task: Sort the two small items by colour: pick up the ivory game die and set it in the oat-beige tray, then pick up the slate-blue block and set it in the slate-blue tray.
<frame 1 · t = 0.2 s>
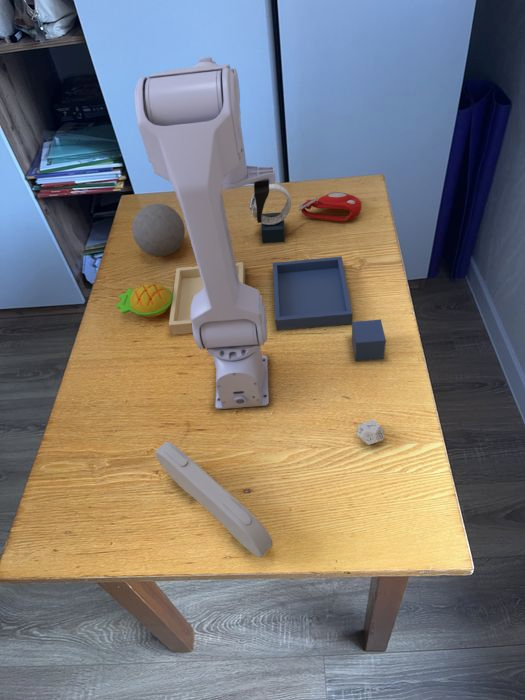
hand: (237, 221, 90), 10 cm above the table, tool pointing down, fingers open, 7 cm apart
decorative ball: (165, 251, 103), on the table
blue tray: (310, 297, 90), on the table
watch: (273, 235, 103), on the table
game die: (370, 438, 71), on the table
beige tray: (210, 301, 92), on the table
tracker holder: (329, 211, 106), on the table
toy pineapple: (149, 311, 92), on the table, touching beige tray
game controller: (216, 510, 67), on the table
blue block: (367, 349, 81), on the table
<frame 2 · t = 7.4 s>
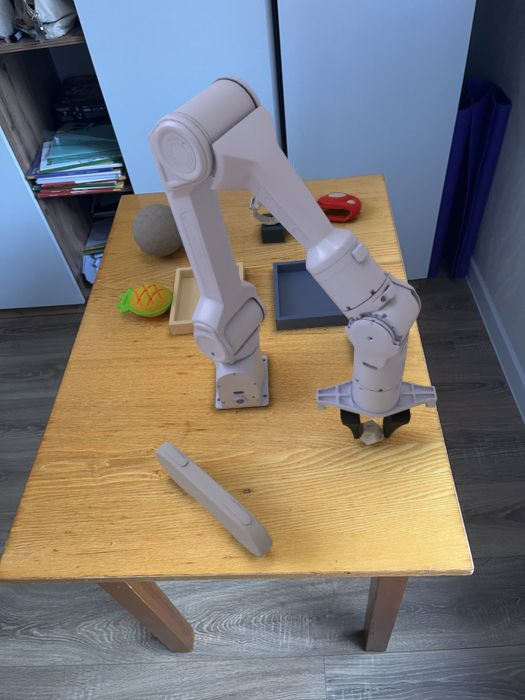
hand: (371, 432, 70), 1 cm above the table, tool pointing down, fingers closed on game die, 3 cm apart
game die: (369, 438, 71), on the table, touching gripper
everything else where it was.
when the fingers open (2 cm above the table, at t = 13.5 s): game die stays where it is, resting on beige tray.
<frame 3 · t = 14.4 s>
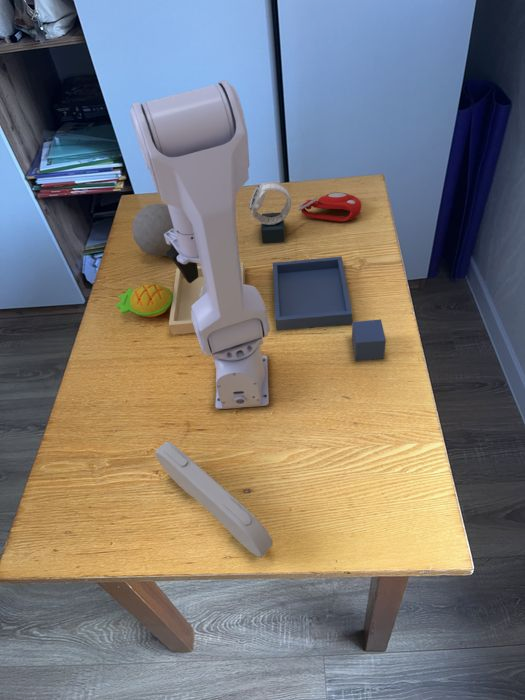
hand: (207, 288, 90), 3 cm above the table, tool pointing down, fingers open, 7 cm apart
game die: (210, 300, 92), resting on beige tray
everything else where it was.
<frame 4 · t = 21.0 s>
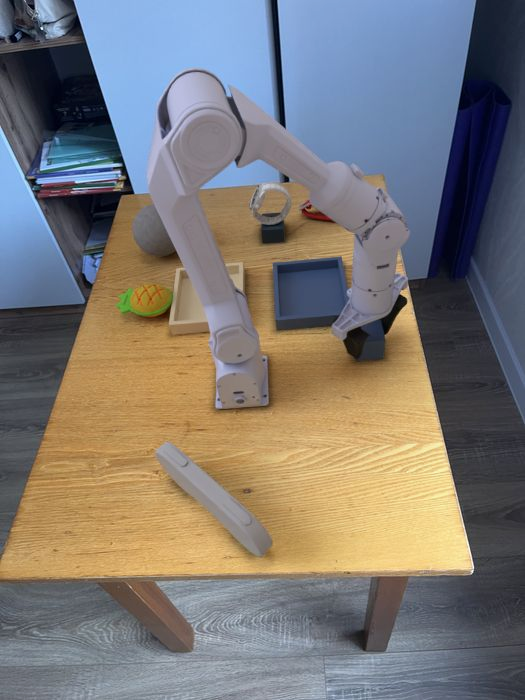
hand: (367, 342, 80), 2 cm above the table, tool pointing down, fingers closed on blue block, 6 cm apart
blue block: (367, 349, 81), on the table, touching gripper
everything else where it was.
when the fingers open (2 cm above the table, at t = 25.4 s): blue block stays where it is, resting on blue tray.
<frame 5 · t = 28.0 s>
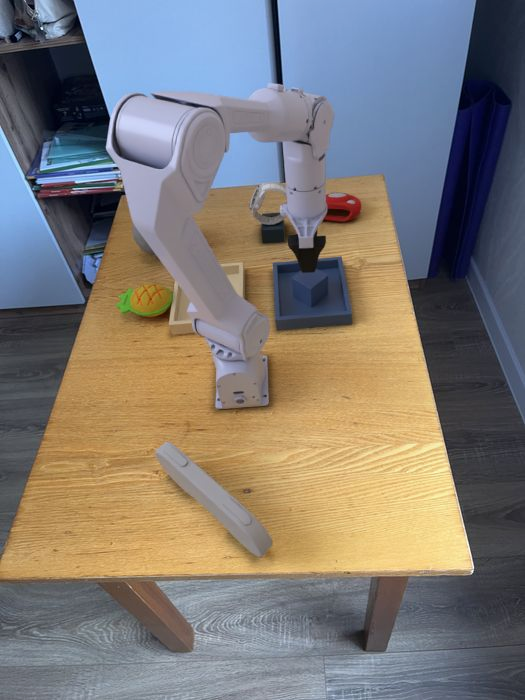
hand: (308, 255, 83), 9 cm above the table, tool pointing down, fingers open, 7 cm apart
blue block: (310, 295, 90), resting on blue tray
everything else where it was.
at the end: game die inside the target area in the beige tray (0.2 cm from its centre), point 0.3 cm above the beige tray's base; blue block inside the target area in the blue tray (0.0 cm from its centre), point 0.5 cm above the blue tray's base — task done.
